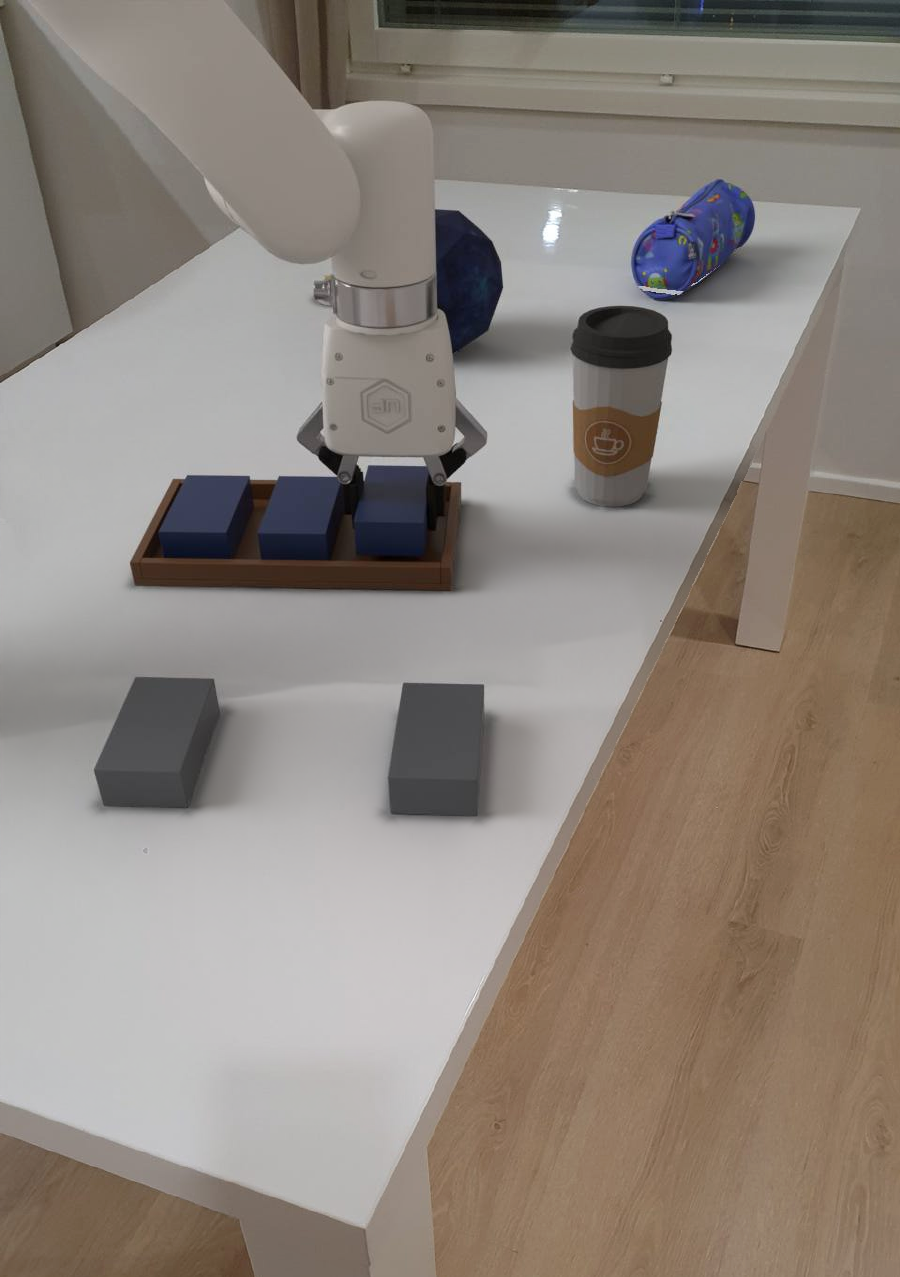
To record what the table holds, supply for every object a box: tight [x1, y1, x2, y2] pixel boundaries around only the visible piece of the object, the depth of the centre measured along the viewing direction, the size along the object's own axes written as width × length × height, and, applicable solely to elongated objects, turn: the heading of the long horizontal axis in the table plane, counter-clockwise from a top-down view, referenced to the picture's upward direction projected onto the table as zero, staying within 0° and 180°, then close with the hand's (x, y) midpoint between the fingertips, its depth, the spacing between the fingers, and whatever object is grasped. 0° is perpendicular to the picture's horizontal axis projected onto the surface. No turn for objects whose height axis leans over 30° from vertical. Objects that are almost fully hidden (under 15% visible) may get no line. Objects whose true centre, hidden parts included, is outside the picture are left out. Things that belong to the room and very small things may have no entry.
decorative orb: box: [435, 208, 504, 355], centre depth 130 cm, size 14×15×15 cm
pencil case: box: [630, 178, 756, 301], centre depth 147 cm, size 22×9×10 cm, turn 150°
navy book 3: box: [354, 464, 429, 557], centre depth 99 cm, size 6×10×3 cm, turn 176°
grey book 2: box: [387, 682, 485, 817], centre depth 78 cm, size 6×10×3 cm, turn 176°
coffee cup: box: [569, 305, 673, 508], centre depth 103 cm, size 8×8×15 cm
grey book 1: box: [93, 676, 221, 809], centre depth 79 cm, size 6×10×3 cm, turn 176°
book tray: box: [129, 478, 462, 591], centre depth 101 cm, size 26×15×2 cm, turn 86°
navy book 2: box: [257, 475, 344, 561], centre depth 100 cm, size 6×10×3 cm, turn 176°
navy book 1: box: [159, 474, 254, 559], centre depth 101 cm, size 6×10×3 cm, turn 176°
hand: (395, 520), depth 100 cm, fingers closed on navy book 3, 5 cm apart
